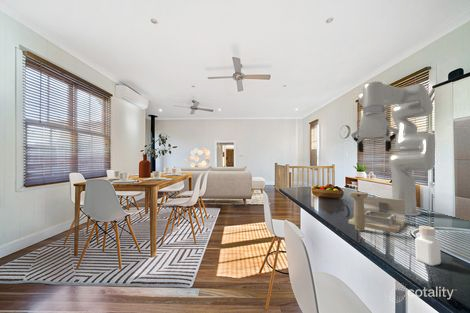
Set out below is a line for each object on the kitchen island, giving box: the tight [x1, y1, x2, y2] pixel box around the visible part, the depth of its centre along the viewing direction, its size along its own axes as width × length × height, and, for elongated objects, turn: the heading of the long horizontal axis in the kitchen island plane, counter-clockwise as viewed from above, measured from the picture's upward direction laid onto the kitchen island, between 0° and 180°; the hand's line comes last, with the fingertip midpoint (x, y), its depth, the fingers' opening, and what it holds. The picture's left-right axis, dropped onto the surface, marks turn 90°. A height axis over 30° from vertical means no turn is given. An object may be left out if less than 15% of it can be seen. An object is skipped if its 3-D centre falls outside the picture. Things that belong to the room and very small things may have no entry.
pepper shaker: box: [414, 225, 442, 267], centre depth 57 cm, size 4×4×10 cm
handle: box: [348, 191, 369, 232], centre depth 84 cm, size 5×6×15 cm
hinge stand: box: [347, 195, 406, 234], centre depth 91 cm, size 16×17×10 cm
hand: (373, 151), depth 88 cm, fingers open, 9 cm apart
